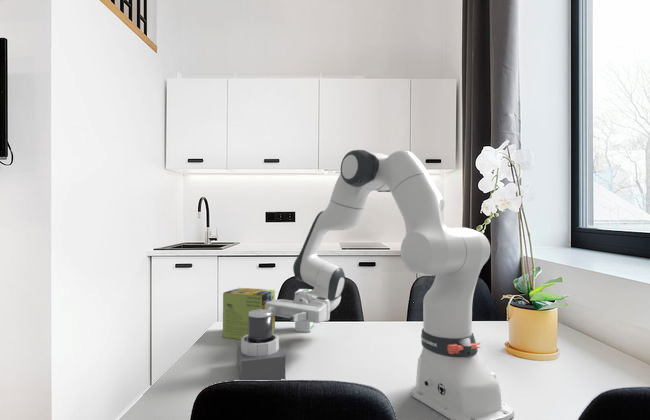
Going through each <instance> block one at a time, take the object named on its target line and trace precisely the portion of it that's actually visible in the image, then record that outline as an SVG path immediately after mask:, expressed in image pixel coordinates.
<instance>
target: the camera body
mask: <svg viewBox="0 0 650 420" xmlns="http://www.w3.org/2000/svg"><path fill="white" fill-rule="evenodd" d="M286 357H287V356H286V354H285V352H284V351H283V349H282V348H281V346H280V337H279V336H278V334H275V333H274V334H272V341H270V342H267V343H249V342H248V335H245V336H244V337H242V338H241V339H240V342H237V343H236V368H237V373H238V375H239V380H281V379H285V380H286V375H287V374H286V373H287V372H286V362H287V361H286Z"/></svg>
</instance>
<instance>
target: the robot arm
mask: <svg viewBox="0 0 650 420" xmlns="http://www.w3.org/2000/svg"><path fill="white" fill-rule="evenodd" d="M372 191H376V192H378V193H381V192H383V193H391V195H392V198H393V199H394V201H395V203H396V205H397V207H398V209H399V212H400V214H401V216H402V218H403V221H404V225H405V236H404V238H403V240H402V242H401V245H400V258H401V261H402V264H403V266H405V268H406V269H407V270H408V271H409V272H410V273H413V274H417V275H422V276H429V277H430V276H431V277H434V276H435V278H434V280H433V283H432V285H431V287H430V288H429V290H428V291H426V293H425V295H424V297H423V300H422V302H423V305H422V306H423V309H422V310H423V311H422V312H423V314H422V315H423V316H422V317H423V320H422V321H423V325H422V326H423V327H422V329H421V334H420V339H421V341H420V342H421V345H422V349H421V353H420V354H419V357H418V359H417V366H416V367H417V368H416V379H415V387H414V388H413V389H412V390H411V396H412V397H413V398H414V399H416V400H418V401H420V402H421V403H423V404H424V405H426V406H428V407H430V408H431V409H433V410H434V411H436V412H438V413H439V414H441V415H442V416H444V417H446V419H447V418H448V419H449V420H511V419H513V417H514V416H515V411H514V408H512V407H511V406H510V405H508V403H506V402H505V401H504V400H503V399H502V393H501V391H502V390H501V388H500V387H501V386H500V384H499V381H498V380H497V377H496V374H495V372H493V371H491V370H490V369H489V368H488V366H487V365H486V363H485V362H484V361H483V359H482V358H481V356H480V355H479V353H478V351H479V350H478V349H480V348H481V346H478V345H481V342H476V339H475V335H474V333H473V332H472V331H473V325H472V324H473V321H472V320H473V299H474V293H475V289H476V286H477V282H478V279H479V276H480V273H481V272H482V271H481V270H482V269H483V266H484V265H485V264H486V263H487V262H488V260H489V259H490V255H491V244H490V240H489V239H488V238H487V237H486V235H485V234H484V233H482V232H481V231H479V230H477V229H476V230H475V229H472V228H468V227H464V226H463V227H458V226H457V227H448V225H446V223H445V221H444V219H443V216H442V211H443V210H444V207H445V198H444V197H443V195H442V193H441V191H440V189H439V188H438V187H437V185H436V182H435V180H433V178H432V176H431V175H430V173H429V171H428V170H427V169H426V167H425V166H424V164H423V163H422V162H421V160H420V159H419V158H418V157H417V156H416V155H415V154H414V153H413V152H412V151H409V150H404V149H401V150H397V151H394V152H392V153H390V154H389V155H388V154H385V153H381V152H376V151H369V150H365V149H353V150H351V151H349V152H347V153H345V155H344V157H343V158H342V161H341V164H340V173H339V175H338V178H337V180H336V182H335V184H334V186H333V190H332V193H331V197H330V200H329V202H328V205H327V206H326V208H325V209H324V210H322V211H320V212H319V213H318V214H317V215H316V217H315V219H314V220H313V222H312V224H311V227H310V229H309V231H308V233H307V236H306V238H305V240H304V243H303V245H302V248H301V250H300V252H299V254H298V255H297V257H296V258H295V261H294V263H293V265H292V266H293V267H292V271H293V274H294V277H295V279H296V280H298V281H299V282H303V283H305V284H307V285H309V286H312V287H313V289H312V291H308V292H304V293H301V294H298V295H297V296H296V297H295V296H294V298H293V300H290V299H284V298H280V299H275V300H273V301H268V302H266V303H265V309H267V310H271V311H272V315H274V316H275V317H280V318H281V317H282V318H286V319H290V321H291V322H294V323H295V322H296V321H305V322H313V323H314V324H320V323H323V322H328V321H329V320H330V316H331V312H332V311H334V310H335V309H336V308H337V307H338V306H339V305H340V303H341V299H342V293H343V292H344V289H345V287H346V275H345V272H344V269H343V268H342V267H340V266H338V265H336V264H334V263H331V262H329V261H327V260H325V259H324V258H321V257H320V256H318V250H319V247H320V246H321V243H322V241H323V239H324V237H325V235H326V234H327V233H328V232H329V231H348V230H350V229H353V228H354V227H356V226H357V225H358V224H359V223H360V221H361V219H362V217H363V213H364V210H365V205H366V203H367V198H368V195H369V194H370V193H371V192H372Z"/></svg>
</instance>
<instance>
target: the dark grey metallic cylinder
mask: <svg viewBox="0 0 650 420" xmlns="http://www.w3.org/2000/svg"><path fill="white" fill-rule="evenodd" d="M270 341H272V311H271V310H267V309H257V310H252V311H249V316H248V342H249V343H267V342H270Z"/></svg>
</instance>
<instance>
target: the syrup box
mask: <svg viewBox="0 0 650 420" xmlns="http://www.w3.org/2000/svg"><path fill="white" fill-rule="evenodd" d="M312 290H313V289H310V288H298V290H297V291H295V292H294V298H295V297H296V296H297V295H298V294H301V293H304V292H308V291H312ZM294 326H295V330H294V331H295V332H300V333H311V331H312V330H313V329H314V328H315V323H313V322H305V321H296V322H294Z"/></svg>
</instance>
